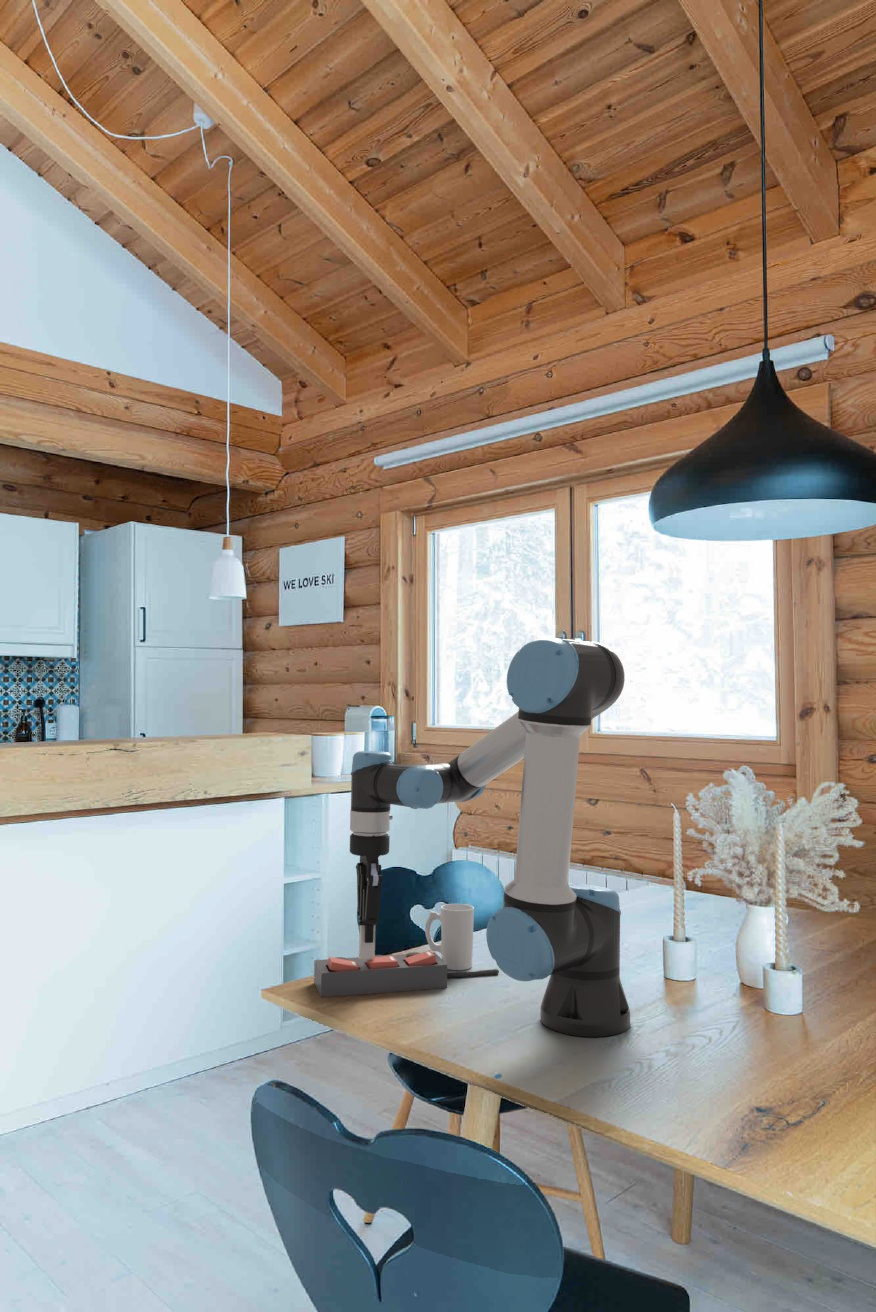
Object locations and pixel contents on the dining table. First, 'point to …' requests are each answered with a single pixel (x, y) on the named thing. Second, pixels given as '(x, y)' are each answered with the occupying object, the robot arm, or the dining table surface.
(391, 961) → the rocker
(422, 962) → the rocker
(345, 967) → the rocker
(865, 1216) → the dining table surface
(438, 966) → the switch panel
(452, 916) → the mug
